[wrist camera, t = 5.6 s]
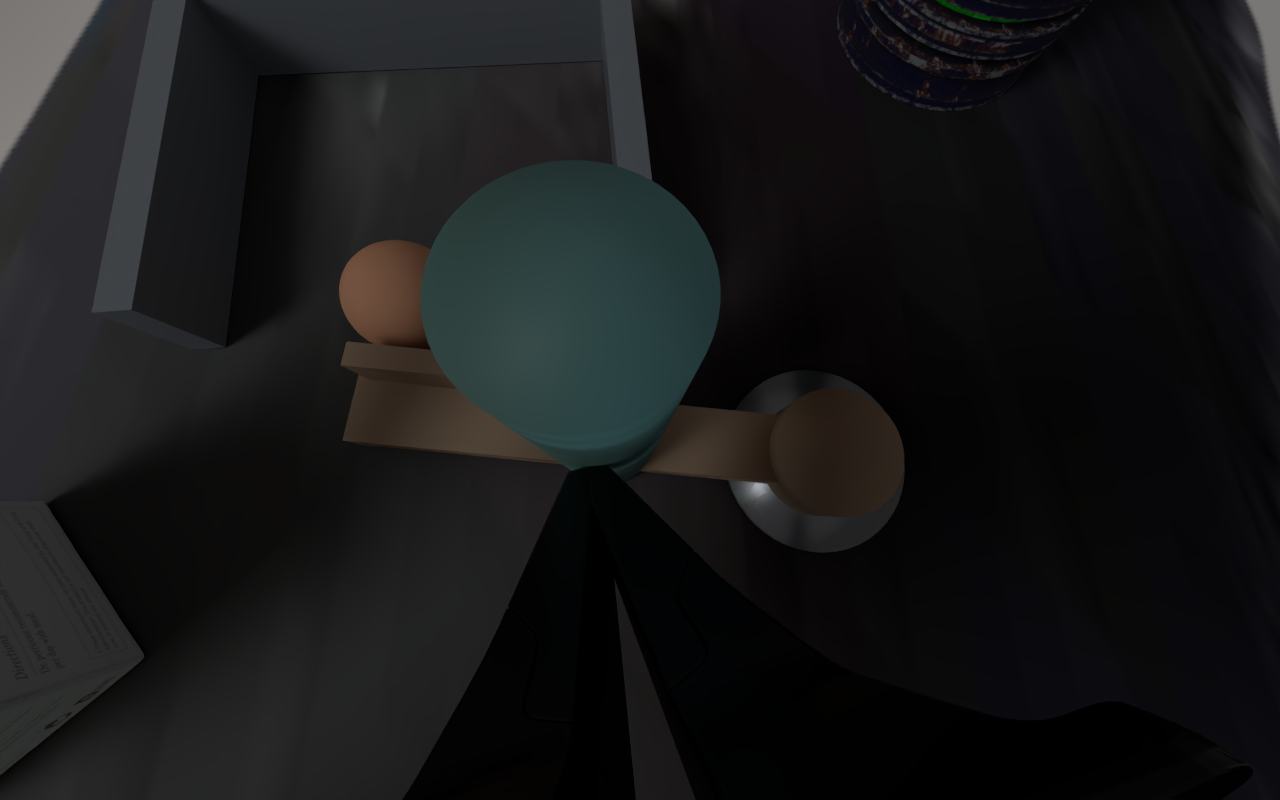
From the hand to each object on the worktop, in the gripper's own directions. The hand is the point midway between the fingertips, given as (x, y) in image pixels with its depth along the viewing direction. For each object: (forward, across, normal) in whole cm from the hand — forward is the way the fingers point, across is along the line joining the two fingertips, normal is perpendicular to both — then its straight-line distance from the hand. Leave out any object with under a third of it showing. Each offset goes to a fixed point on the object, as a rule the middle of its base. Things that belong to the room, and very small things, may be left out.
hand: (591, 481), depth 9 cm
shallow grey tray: (+16, +4, -5) cm, 17 cm away
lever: (+7, -1, +4) cm, 8 cm away
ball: (+10, +5, -2) cm, 12 cm away
